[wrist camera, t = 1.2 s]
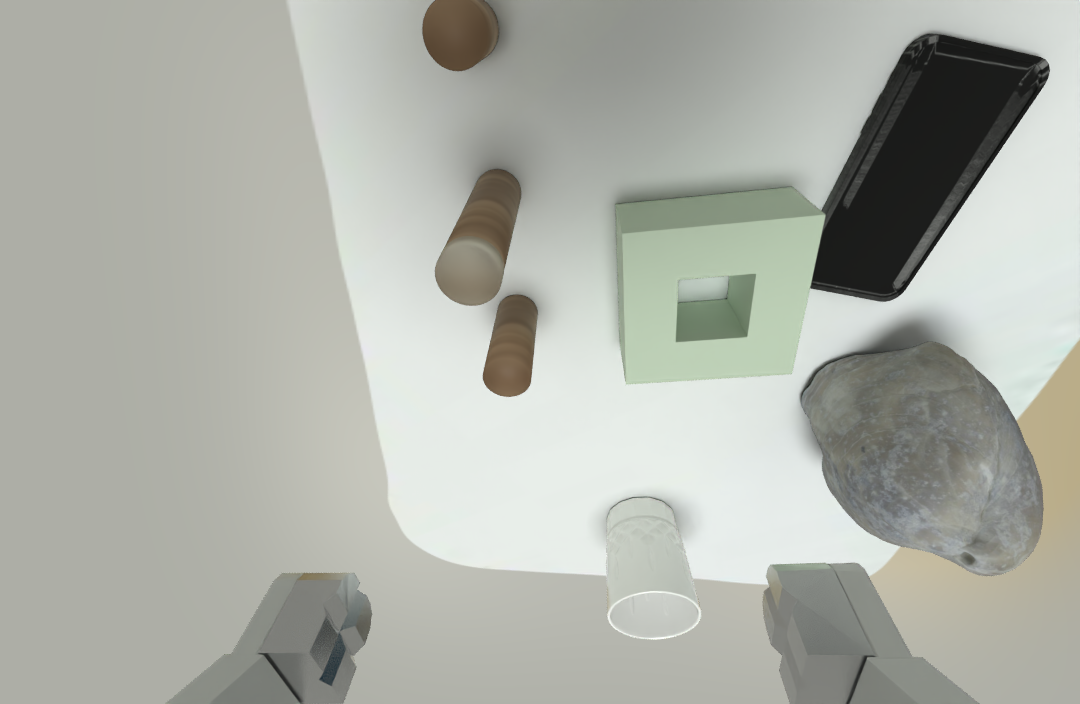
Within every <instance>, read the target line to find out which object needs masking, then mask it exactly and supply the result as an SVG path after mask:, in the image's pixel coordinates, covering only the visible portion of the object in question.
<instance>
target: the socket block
mask: <svg viewBox="0 0 1080 704" xmlns="http://www.w3.org/2000/svg"><path fill="white" fill-rule="evenodd" d="M615 207H616V239H617V271H618V303H619V335H620V349H621V355H622V362H623V368H624V375H625V381H626V384H642V383H658V382H674V381H690V380H706V379H722V378H738V377H754V376H770V375H786V374H792V371H793V366H794V362H795V357H796V352H797V347H798V343H799V338H800V333H801V329H802V324H803V319H804V314H805V310H806V305H807V300H808V296H809V291H810V286H811V281H812V277H813V272H814V267H815V263H816V258H817V253H818V248H819V244H820V239H821V234H822V230H823V225H824V220H825V214H824V213H823V212H822V211H821V210H819V209H818V208H817V207H816V206H815V205H813V204H812V203H811V202H810V201H809V200H807V199H806V198H805V197H804V196H803V195H801V194H800V193H799V192H798V191H797V190H795V189H794V188H793V187H785V188H775V189H765V190H754V191H744V192H734V193H724V194H714V195H704V196H694V197H684V198H674V199H664V200H653V201H643V202H633V203H623V204H615ZM722 276H729V285H728V295H727V299H722V300H709V301H697V302H684V303H677V300H678V280H686V279H698V278H710V277H722Z"/></svg>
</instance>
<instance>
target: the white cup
mask: <svg viewBox="0 0 1080 704" xmlns="http://www.w3.org/2000/svg"><path fill="white" fill-rule="evenodd" d="M606 553H607V559H606V574H607V614H608V615H607V617H608V621H609V623H610V624H611V626H612V627H613V628H614V629H616V630H617V631H619V632H620V633H622V634H625V635H628V636H631V637H635V638H641V639H665V638H670V637H675V636H678V635H681V634H684V633H685V632H688V631H689V630H691V629H692V628H693V627H695V626H696V625H697V624H698V623H699V621H700V619H701V615H702V613H701V609H700V605H699V601H698V597H697V593H696V590H695V586H694V582H693V578H692V575H691V571H690V567H689V564H688V560H687V556H686V552H685V549H684V546H683V543H682V539H681V536H680V535H679V532H678V529H677V526H676V522H675V518H674V514H673V511H672V509H671V508H670V507H669V506H667V505H666V504H665V503H664V502H662V501H659V500H656V499H653V498H649V497H646V498H631V499H628V500H625V501H622V502H620V503H618V504H617V505H616V506H615V507H613V508H612V509H611V510H610V512H609V515H608V518H607V545H606Z"/></svg>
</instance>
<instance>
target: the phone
mask: <svg viewBox="0 0 1080 704" xmlns="http://www.w3.org/2000/svg"><path fill="white" fill-rule="evenodd" d="M1049 72H1050V69H1049V64H1048V62H1047V61H1046V59H1043V58H1041V57H1038V56H1034V55H1030V54H1025V53H1021V52H1016V51H1012V50H1008V49H1003V48H999V47H994V46H990V45H986V44H981V43H977V42H972V41H968V40H964V39H959V38H955V37H950V36H946V35H938V34H927V35H924V36H921V37H919V38H917V39H916V40H914V41H913V42H912V43H911V44H910V45H909V46H908V47H907V48H906V50H905V51H904V53H903V54H902V56H901V58H900V60H899V62H898V64H897V65H896V67H895V69H894V71H893V73H892V75H891V77H890V79H889V81H888V83H887V85H886V87H885V89H884V91H883V93H882V94H881V96H880V98H879V100H878V102H877V104H876V106H875V108H874V110H873V111H872V114H871V116H870V118H869V119H868V121H867V122H866V124H865V126H864V128H863V130H862V132H861V135H860V137H859V139H858V141H857V143H856V145H855V147H854V149H853V151H852V153H851V155H850V157H849V158H848V160H847V162H846V164H845V166H844V168H843V170H842V172H841V174H840V176H839V178H838V180H837V182H836V184H835V186H834V187H833V189H832V191H831V193H830V195H829V197H828V199H827V201H826V203H825V205H824V207H823V209H822V212H823V213H824V214H825V220H824V225H823V230H822V234H821V239H820V244H819V248H818V253H817V258H816V263H815V267H814V272H813V277H812V281H811V286H810V288H811V289H817V290H822V291H827V292H833V293H838V294H843V295H849V296H854V297H859V298H865V299H870V300H875V301H883V302H886V301H890V300H893V299H895V298H897V297H898V296H900V295H901V294H902V293H903V292H904V291H905V290H906V288H907V287H908V285H909V284H910V282H911V281H912V279H913V278H914V276H915V275H916V273H917V272H918V270H919V269H920V267H921V266H922V265H923V263H924V262H925V260H926V259H927V257H928V256H929V254H930V253H931V251H932V250H933V248H934V247H935V245H936V244H937V242H938V241H939V240H940V238H941V237H942V235H943V234H944V232H945V231H946V229H947V228H948V226H949V225H950V223H951V222H952V220H953V219H954V217H955V216H956V215H957V213H958V212H959V210H960V209H961V207H962V206H963V204H964V203H965V201H966V200H967V198H968V197H969V195H970V194H971V192H972V191H973V189H974V188H975V187H976V185H977V184H978V182H979V181H980V179H981V178H982V176H983V175H984V173H985V172H986V170H987V169H988V167H989V166H990V164H991V163H992V162H993V160H994V159H995V157H996V156H997V154H998V153H999V151H1000V150H1001V148H1002V147H1003V145H1004V144H1005V142H1006V141H1007V139H1008V138H1009V137H1010V135H1011V134H1012V132H1013V131H1014V129H1015V128H1016V126H1017V125H1018V123H1019V122H1020V120H1021V119H1022V117H1023V116H1024V114H1025V113H1026V111H1027V110H1028V109H1029V107H1030V106H1031V104H1032V103H1033V101H1034V100H1035V98H1036V97H1037V95H1038V94H1039V92H1040V91H1041V89H1042V88H1043V86H1044V85H1045V83H1046V81H1047V79H1048V76H1049Z"/></svg>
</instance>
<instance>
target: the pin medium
mask: <svg viewBox="0 0 1080 704" xmlns="http://www.w3.org/2000/svg"><path fill="white" fill-rule="evenodd" d="M537 314H538V311H537V307H536V305H535V304H534V302H533V301H532V300H531V299H529V298H528V297H525V296H522V295H511V296H508V297H506V298H504V299H503V300H502V301H501V302H500V304H499V306H498V310H497V315H496V319H495V323H494V328H493V332H492V337H491V341H490V345H489V350H488V354H487V358H486V363H485V367H484V372H483V380H484V383H485V385H486V386H487V388H488V389H489V390H490V391H492V392H493V393H495V394H497V395H500V396H506V397H512V396H517V395H520V394H522V393H523V392H525V391H526V390H527V389H528V387H529V386H530V383H531V376H532V366H533V355H534V345H535V335H536V325H537Z"/></svg>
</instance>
